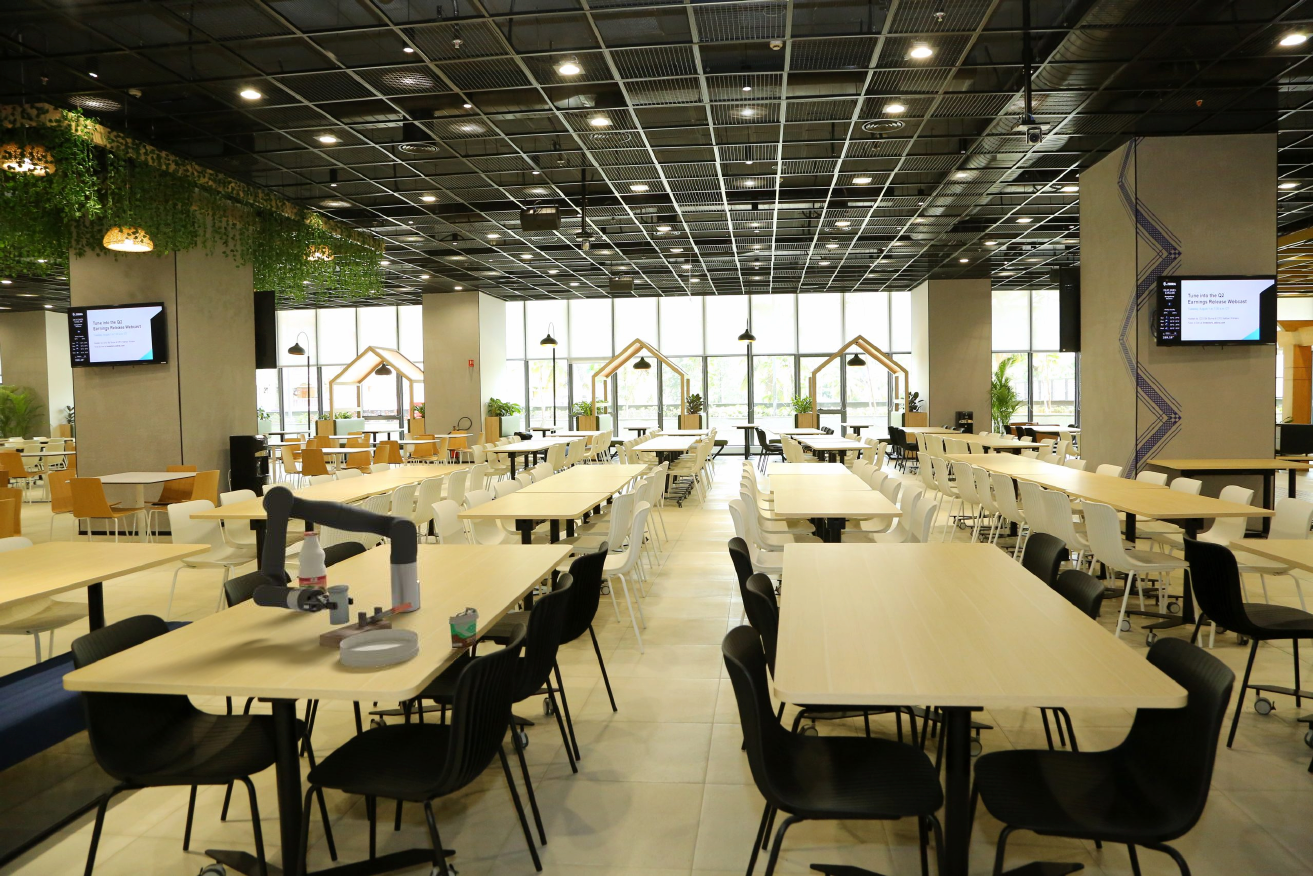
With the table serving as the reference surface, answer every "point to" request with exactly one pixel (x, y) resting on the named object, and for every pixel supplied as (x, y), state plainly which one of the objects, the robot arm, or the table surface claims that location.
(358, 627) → the housing
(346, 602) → the grey canister
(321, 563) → the fruit juice
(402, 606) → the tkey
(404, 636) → the dish
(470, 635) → the food container
